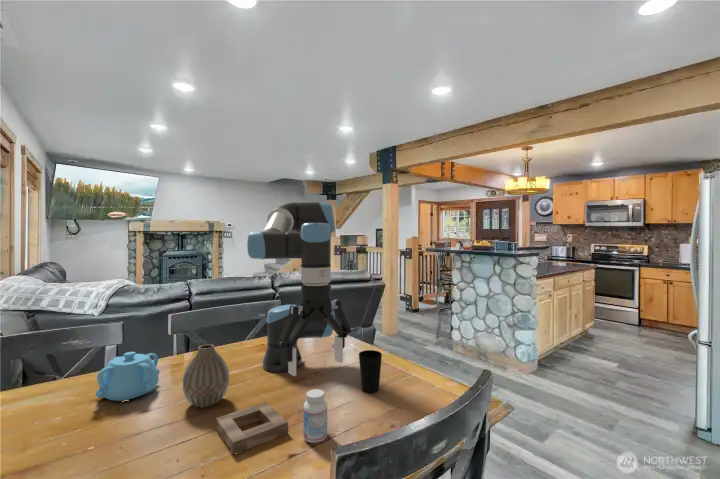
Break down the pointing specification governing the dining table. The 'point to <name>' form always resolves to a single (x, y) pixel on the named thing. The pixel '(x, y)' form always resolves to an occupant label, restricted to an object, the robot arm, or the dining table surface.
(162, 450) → the dining table surface
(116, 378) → the decorative pot
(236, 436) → the socket block
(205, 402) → the vase
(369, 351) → the cup
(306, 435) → the pill bottle
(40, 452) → the dining table surface
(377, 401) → the dining table surface
